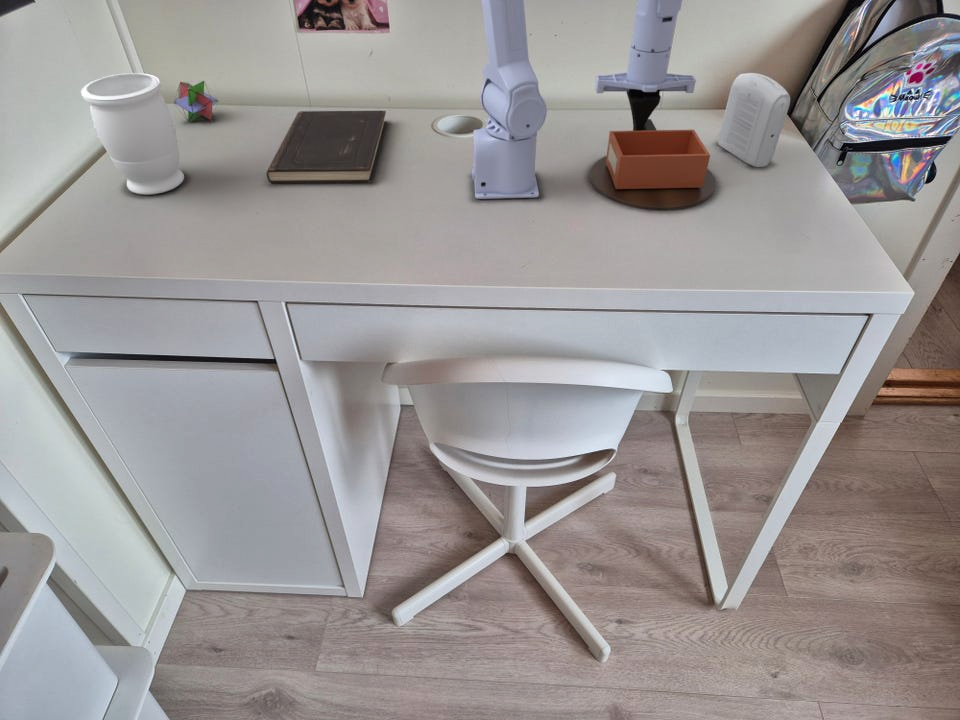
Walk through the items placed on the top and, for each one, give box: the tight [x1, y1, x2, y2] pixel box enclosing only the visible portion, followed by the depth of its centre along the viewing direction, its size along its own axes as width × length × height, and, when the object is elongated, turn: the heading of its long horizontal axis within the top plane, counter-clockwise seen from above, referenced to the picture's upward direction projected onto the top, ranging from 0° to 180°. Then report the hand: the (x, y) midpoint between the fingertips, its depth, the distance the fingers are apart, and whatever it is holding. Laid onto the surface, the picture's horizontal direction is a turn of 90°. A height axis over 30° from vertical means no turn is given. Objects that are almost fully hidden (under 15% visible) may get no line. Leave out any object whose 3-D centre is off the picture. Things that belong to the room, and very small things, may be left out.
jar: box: [80, 72, 185, 196], centre depth 97 cm, size 11×10×15 cm
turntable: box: [589, 155, 717, 212], centre depth 101 cm, size 19×19×1 cm
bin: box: [606, 118, 711, 189], centre depth 100 cm, size 13×13×5 cm
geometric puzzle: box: [172, 80, 219, 123], centre depth 118 cm, size 7×7×8 cm
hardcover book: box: [266, 110, 388, 185], centre depth 109 cm, size 16×23×2 cm
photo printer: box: [717, 72, 791, 168], centre depth 103 cm, size 10×4×12 cm, turn 23°
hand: (636, 137), depth 104 cm, fingers closed
